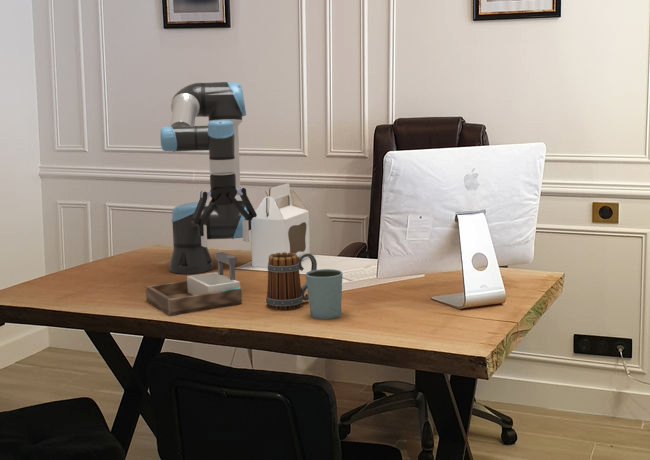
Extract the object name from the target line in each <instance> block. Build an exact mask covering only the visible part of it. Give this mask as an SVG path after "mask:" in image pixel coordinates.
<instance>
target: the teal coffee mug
mask: <svg viewBox="0 0 650 460" xmlns="http://www.w3.org/2000/svg"><path fill="white" fill-rule="evenodd" d="M305 282H307V289H306V291H307V294H308V296H309V297H308V298H309V300H308V303H309V315H310V317H311V318H313V319H317V320H332V319H337V318H339V317H341V316H342V300H343V299H342V298H343V297H342V296H343V294H342V293H343V271H342V270H339V269H331V268H328V269H327V268H325V269H324V268H321V269H317V270H313V271H311V270H309V271H307V272H305Z"/></svg>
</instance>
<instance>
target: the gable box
mask: <svg viewBox="0 0 650 460" xmlns="http://www.w3.org/2000/svg"><path fill="white" fill-rule="evenodd" d="M264 192H265V193H266V195H267V196H265V197H264V198H263V199H262V201H261V202H260V204H259V205H258V207H257V208H256V209H255V212H256V214H257V216H256V217H254V218H253V219H252V220H251V230H250V244H251V266H252V268H261V267H262V268H265V269H268V263H269V255H271V254H276V253H281V254H282V253H284V252H286V253H287V254H288V253H295V254H296V255H297V256H299V255H300V254H302V253H309V254H311V253H310V252H311V251H310V217H309V216H310V214H309V213H310V212H309V210H308V209H307V207H306V205H304V203H303V201H302V200H301V199H300V198H299V196H298V195H297V194H296V192H295V191H294V190H291V186H290V183H289V182H285V183H282V184H279V185H275V186H272V187H269V189H268V190H265V191H264ZM280 198H281V200H280V202H279V205H278V204H277V201H276V200H277V199H280ZM307 259H310V258H309V257H305V258H303V260H302V262H303V261H305V260H307ZM262 268H261V269H262Z"/></svg>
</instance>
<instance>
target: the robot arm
mask: <svg viewBox="0 0 650 460" xmlns="http://www.w3.org/2000/svg"><path fill="white" fill-rule="evenodd" d="M170 102H171V103H170V109H171V112H172V113H171V118H170V123H169V125H168V126H163V127H161V128H160V132H159V133H160V148H161V150H162V151H164V152H173V153H174V152H196V151H199V152H200V151H208V154H209V155H208V156H209V157H208V159H209V161H208V162H209V172H210V175H209V185H210V186H209V187H210V190H209V191H204V190H200V194H199V195H200V196H199V201H195V202H188V203H187V202H186V203H184V204H179V205H177V206H175V207H173V208H172V212H171V213H172V214H171V223H172V242H173V243H172V244H173V245H172V247H173V250H172V253H171V256H170V260H169V267H168V268H169V272H170V273H173V274H180V275H181V274H184V275H190V274H193V275H194V274H203V273H205V272H206V273H208V272H210V271H212V270H213V269H214V262H213V259H212V256H211V253H210V251H209V249H208V240H226V239H227V240H228V239H230V240H235V239H242V241H243V242H246V243H249V242H250V232H249V231H251V220H252V219H253V218H254V217H256V216H257V214H256V212H255V211H256V209H255V208H254V206H253V204H252V203H251V201H250V199H249V197H248V195H247V189H246V188H245V187H242V186H241V170H240V168H241V167H240V146H239V145H240V141H239V138H240V137H239V126H240V125H241V123H242V122H243V117H245V116H247V110H246V105H245V99H244V91H243V86H242V85H241V84H240V82H235V81H234V82H231V81H222V82H221V81H219V82H216V81H215V82H195V83H192V84H188V85H186V86H184V87H183V88H180V90H179V91H177V92H176V93H175V94H174V95H173V97H172V99H171V101H170ZM198 117H199V118H200V117H203V118H208V124H207V125H195V124H196V118H198ZM209 198H211V199H210V201H209V203H208V205H207V204H206V203H207V201H208V199H209Z"/></svg>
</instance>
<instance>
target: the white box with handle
mask: <svg viewBox="0 0 650 460" xmlns="http://www.w3.org/2000/svg"><path fill="white" fill-rule="evenodd" d="M215 260H216V261H217V271H214V272H206V273H198V274H193V275H187V276H186V281H187V289H188V293H190V294H192V295H200V294H206V293H213V292H220V291H221V290H226V289H233V288H241V284H240V283H241V282H240V281H238V280H236V265H237V264H238V263H237V262H238V261H237V257H236V256H234V255H231V254H229V253H226V252H223V251H221V252H215ZM224 264H226V265H228V266H229V276H227V275H225V274H224Z"/></svg>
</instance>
